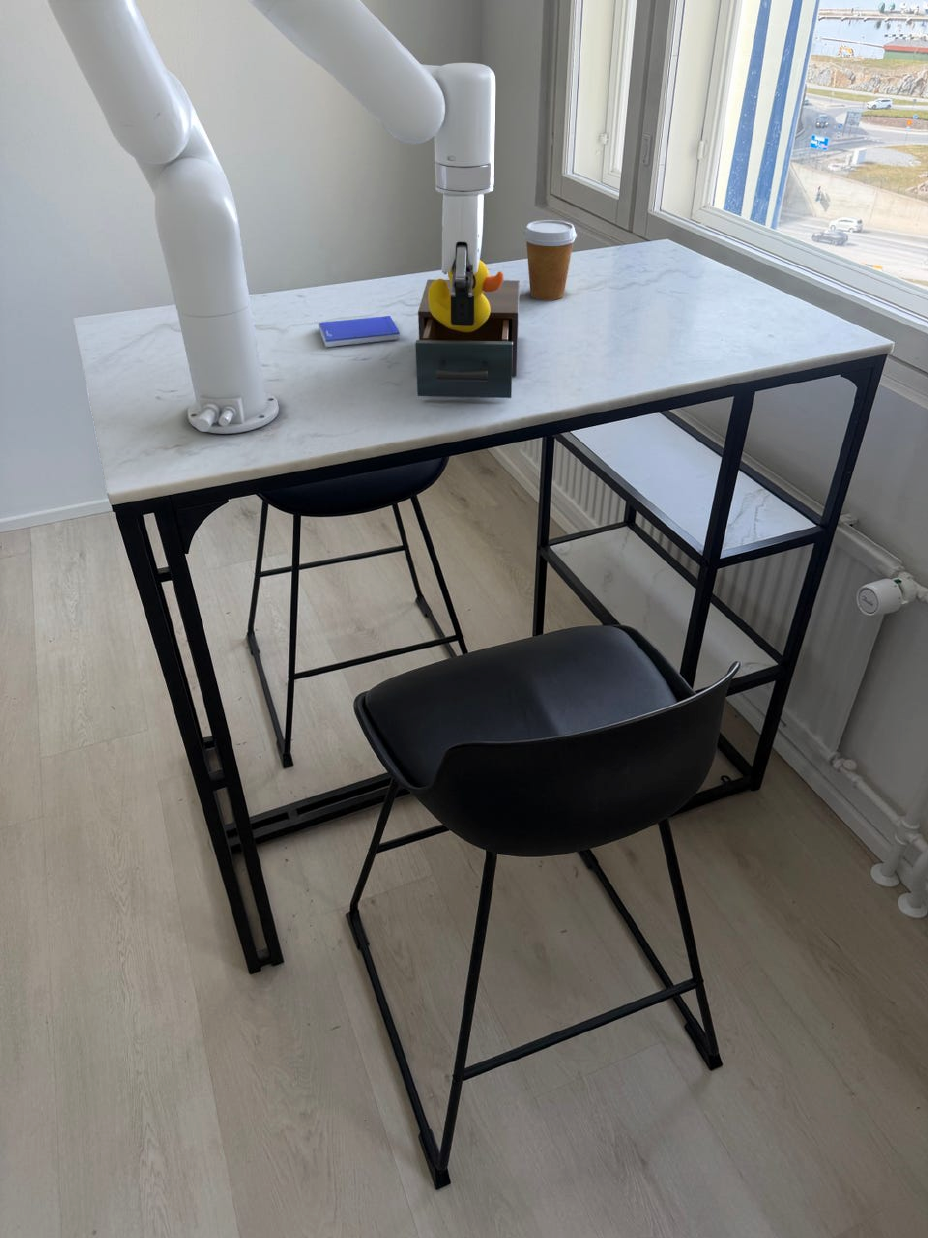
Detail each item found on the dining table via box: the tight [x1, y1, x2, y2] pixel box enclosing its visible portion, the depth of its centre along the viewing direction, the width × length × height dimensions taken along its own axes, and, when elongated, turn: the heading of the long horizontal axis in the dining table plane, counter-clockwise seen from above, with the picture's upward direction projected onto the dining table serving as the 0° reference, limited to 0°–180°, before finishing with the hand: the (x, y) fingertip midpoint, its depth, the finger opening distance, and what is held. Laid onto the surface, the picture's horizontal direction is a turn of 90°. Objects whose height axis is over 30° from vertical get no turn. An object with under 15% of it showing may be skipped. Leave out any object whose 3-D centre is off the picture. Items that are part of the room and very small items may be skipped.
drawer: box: [414, 318, 513, 399], centre depth 126 cm, size 19×14×8 cm
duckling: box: [428, 259, 504, 332], centre depth 121 cm, size 11×5×10 cm, turn 62°
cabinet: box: [417, 279, 521, 378], centre depth 136 cm, size 15×15×10 cm
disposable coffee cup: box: [523, 219, 578, 301], centre depth 158 cm, size 10×10×12 cm
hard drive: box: [318, 315, 401, 348], centre depth 146 cm, size 2×8×12 cm
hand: (463, 314), depth 123 cm, fingers closed on duckling, 6 cm apart
